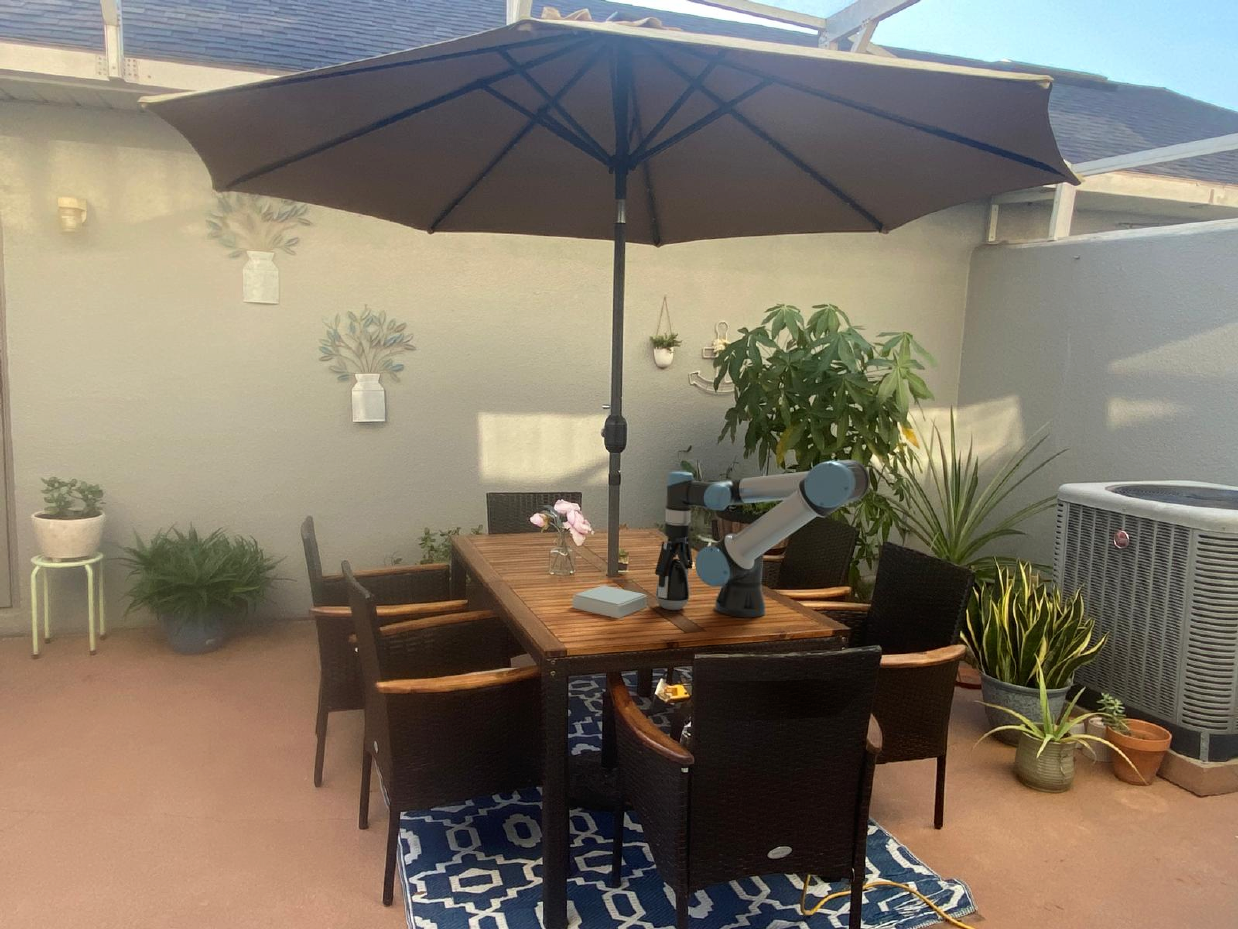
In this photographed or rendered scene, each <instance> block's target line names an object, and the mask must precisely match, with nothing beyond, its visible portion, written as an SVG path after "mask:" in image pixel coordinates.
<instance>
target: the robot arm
mask: <svg viewBox="0 0 1238 929" xmlns="http://www.w3.org/2000/svg"><path fill="white" fill-rule="evenodd" d="M870 487H871V476H870V473H869V471H868V469H867V467H865V466H864V465H863V464H862V463H860V462H859V461H857V460H853V459H843V460H827V461H824V462H820V463H818V464H817V465H815V466H813V467H812V468H811V469H809V471H799V472H790V473H783V474H782V473H781V474H771V475H764V476H753V477H747V478H731V479H727V480H720V481H718V480H717V481H711V482H710V481H700V480H699V481H698V480H694V474H693V473H692V472H689V471H671V472H669V474H668V477H667V485H666V506H665V511H664V513H665V519H664V521H665V522H666V523H664V530H663V531H664V535H665V536H666V537H667V541H662V542H661V546H660V547H661V548H660V553H659V556H658V560H657V562H656V563H657V564H656V567H655V571H654V574H655V575H656V576H658V580H659V585H658V597H661V598H667V589H668V576H667V573H668V571H669V568H670V566H671V563H672V561H673V559H675V558H676V557H677V559H679V560H680V561H681V562H682V563H683V565H684V567H685V569H686V573H687V577H688V578H689V570H692V569H693V565H694V566H695V571H696V574H697V576H698V577H699V579H700V580H701V581H702V582H703V583H704V584H706V585H707V586H709V587H713V588H716V587H720V589H719V592H718V594H717V595H716V599H715V603H714V610H716V612H718V613H721V614H723V615H726V616H731V617H738V618H757V617H762V616H764V615H765V613H766V602H765V599H764V596H763V590H762V579H763V578H762V577H763V569H764V568H763V567H764V557H765V556H764V554H765V553H766V552H767V551H769V550H770V549H772V548H773V547H775V546H776V545H777V544H779V543H780V542H782V541H783V540H785V539H786V538H787V537H789V536H791V535H792V534H793V533H795V532H797V531H798V530H799V529H800V528H802V527H803V526H804V525H807V523H809V522H810V521H813V519H815V518H816V517H819V518H826V517H828V516H829V515H831V514H832V513H835V511H837V510H839V509H840V508H841V507H843V506H844V505H847V504H851V503H855V502H857V501H860V500H861V499H863V498H864V497H865V495H867V494H868V492H869V489H870ZM777 501H778V502H779V501H780V502H779V503H778V504H776V505H775V506H774V507H772V508H771V509H770V510H769V511H767V512H765V513H764V514H762V515H761V516H760V517H759V518H758V519H756V520H755V521H753V522H751V523H750V524H749V525H748V526H746V527H745V528H744V529H742V530H741V531H739V532H738V533H736V534H735V533H728V534H726V535H724V536H723V537H722V538H720V540H718V541H716V542H715V543H713V544H712V545H707V546H705V547H703V548H702V549H699V551H698V552H697V555H696V557H695V564H694V563H693V554H692V549H691V536H690V529H691V526H690V523H691V515H692V507H697V508H704V509H710V510H711V511H715V510H716V511H724V510H725V509H727V508H728V507H729V506H733V505H743V504H753V503H755V504H756V503H763V502H777Z"/></svg>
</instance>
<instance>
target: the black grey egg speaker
mask: <svg viewBox="0 0 1238 929" xmlns="http://www.w3.org/2000/svg"><path fill="white" fill-rule="evenodd" d="M667 576H668V589H667V598H661V597H658V585H659V579H658V582H657V585H656V590H655V596H656V601H657V603H658V604H659V606H660V607H662V608H663V609H664V610H669V611H678V610H681V609H683V608H685V606H686V605H687V604H688V601H689V599H690V596H691V595H690V594H691V593H690V584H689V576H688V577H687V573H686V569H685V567H684V565H683V563H682V562H681V561H680V560H679V558H673V561H672V563H671V566H670V568H669V571H668V573H667Z"/></svg>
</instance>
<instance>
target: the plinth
mask: <svg viewBox="0 0 1238 929" xmlns="http://www.w3.org/2000/svg"><path fill="white" fill-rule="evenodd" d="M647 604H648V595H647V594H645V593H641V592H636V591H631V590H627V589H621V588H618V587H613V586H607V585H600V586H598V587H594V588H591V589H589V590H585V591H582V592H578V593H575V594H574V595H573V596H572V609H576V610H580V611H584V612H589V613H593V614H596V615H602V616H607V617H609V616H610V618H615V619H620V618H623V617H626V616H628V615H631V614H634V613H635V612H638V611H641V610H644V609H646V608H647V607H648V606H647Z"/></svg>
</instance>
